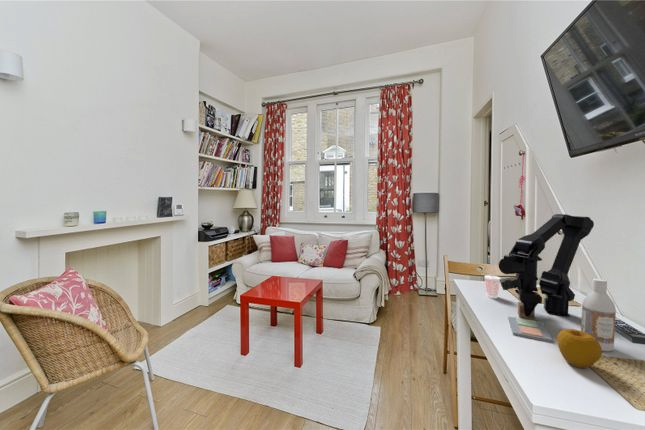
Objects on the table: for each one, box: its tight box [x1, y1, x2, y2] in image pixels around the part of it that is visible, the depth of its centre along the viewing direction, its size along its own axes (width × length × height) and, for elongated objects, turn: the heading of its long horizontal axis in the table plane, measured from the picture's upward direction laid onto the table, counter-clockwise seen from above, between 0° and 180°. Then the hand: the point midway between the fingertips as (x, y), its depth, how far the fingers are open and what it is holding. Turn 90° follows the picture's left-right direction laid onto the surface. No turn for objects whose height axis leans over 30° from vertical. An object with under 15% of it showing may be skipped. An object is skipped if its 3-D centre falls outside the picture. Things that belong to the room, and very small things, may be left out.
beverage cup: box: [483, 265, 501, 299], centre depth 123 cm, size 6×6×14 cm
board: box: [507, 316, 554, 343], centre depth 91 cm, size 10×14×1 cm
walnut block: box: [517, 301, 536, 321], centre depth 102 cm, size 4×4×4 cm
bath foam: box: [580, 278, 617, 352], centre depth 80 cm, size 7×7×20 cm
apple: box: [556, 328, 603, 369], centre depth 72 cm, size 8×8×9 cm
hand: (525, 313), depth 102 cm, fingers open, 5 cm apart
